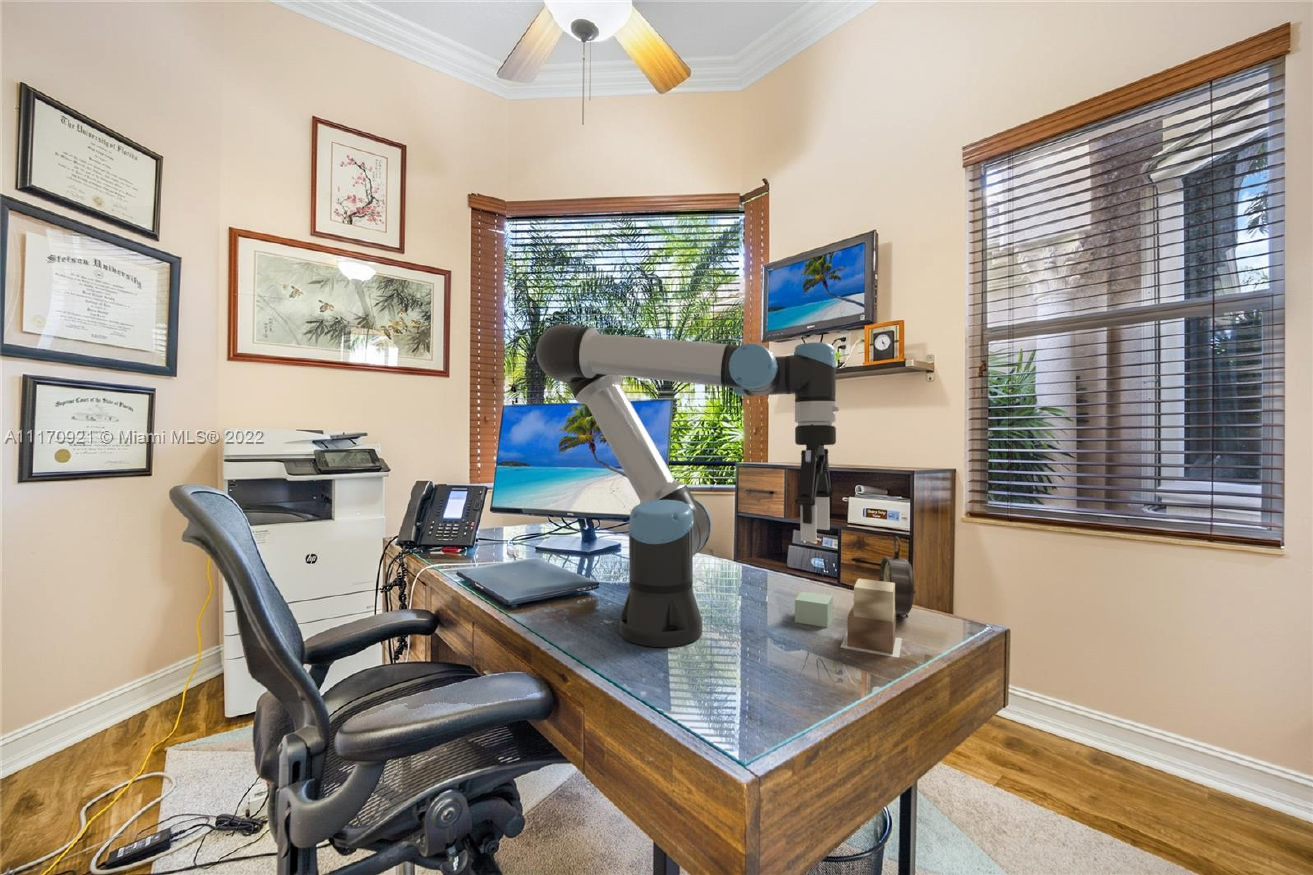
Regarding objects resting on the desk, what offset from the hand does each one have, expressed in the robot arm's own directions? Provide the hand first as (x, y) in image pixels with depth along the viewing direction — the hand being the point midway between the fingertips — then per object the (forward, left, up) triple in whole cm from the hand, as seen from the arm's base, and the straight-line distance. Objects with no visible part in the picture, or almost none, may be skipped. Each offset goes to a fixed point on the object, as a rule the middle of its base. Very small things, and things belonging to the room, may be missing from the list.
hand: (815, 535), depth 102 cm
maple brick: (+11, -7, -11) cm, 17 cm away
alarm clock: (+14, +10, -17) cm, 24 cm away
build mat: (+11, -7, -17) cm, 21 cm away
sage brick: (0, 0, -17) cm, 17 cm away
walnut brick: (+11, -7, -16) cm, 21 cm away
